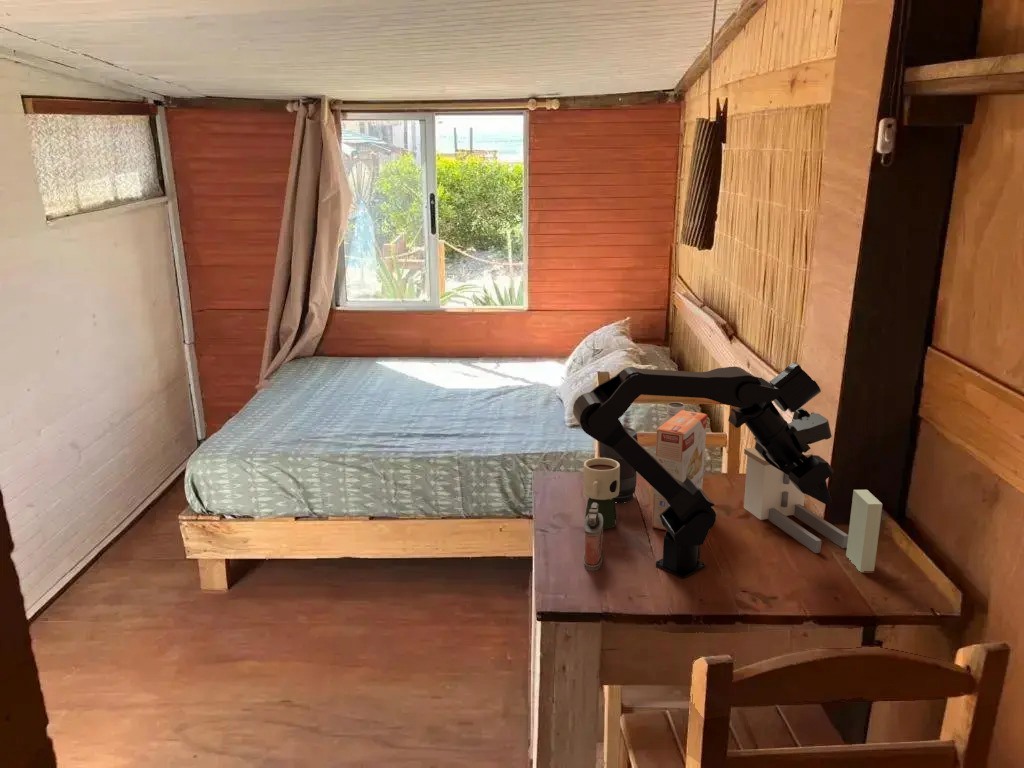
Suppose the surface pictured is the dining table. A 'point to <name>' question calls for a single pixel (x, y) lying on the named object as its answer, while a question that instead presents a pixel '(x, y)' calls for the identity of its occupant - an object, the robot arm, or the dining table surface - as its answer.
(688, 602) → the dining table surface
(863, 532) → the rectangular block
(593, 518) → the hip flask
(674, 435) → the cracker box
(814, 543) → the cabinet
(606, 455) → the camera lens
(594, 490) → the character mug
